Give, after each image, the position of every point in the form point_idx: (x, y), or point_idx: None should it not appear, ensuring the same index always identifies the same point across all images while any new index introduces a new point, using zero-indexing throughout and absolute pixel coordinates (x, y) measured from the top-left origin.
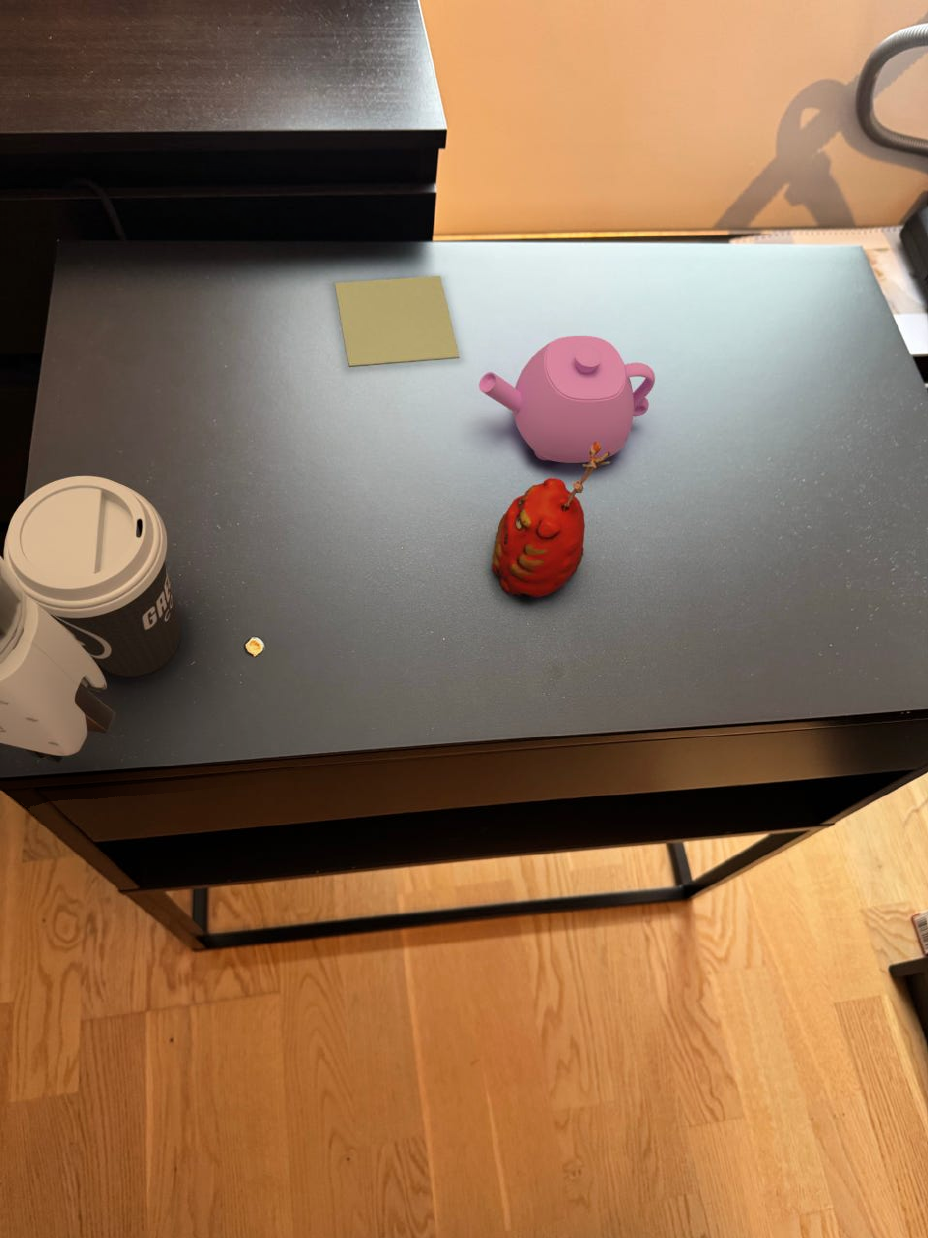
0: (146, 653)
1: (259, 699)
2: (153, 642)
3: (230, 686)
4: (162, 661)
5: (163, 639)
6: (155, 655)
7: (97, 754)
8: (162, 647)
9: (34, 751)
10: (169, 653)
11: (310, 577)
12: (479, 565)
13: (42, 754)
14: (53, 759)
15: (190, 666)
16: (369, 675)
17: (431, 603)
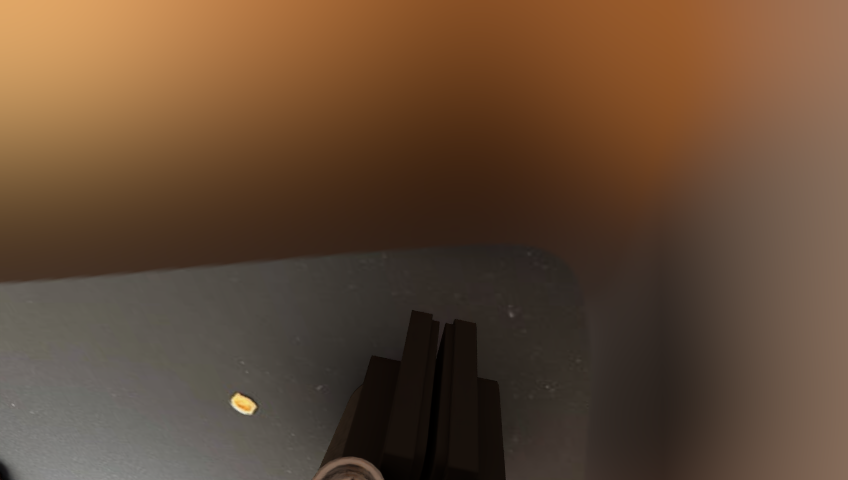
0: (343, 446)
1: (206, 341)
2: None
3: (255, 358)
4: (353, 399)
5: (322, 463)
6: (344, 427)
7: (428, 264)
8: (333, 441)
9: (452, 361)
10: (345, 410)
11: (209, 472)
12: (25, 473)
13: (446, 337)
14: (411, 328)
15: (321, 383)
16: (76, 367)
17: (52, 441)
